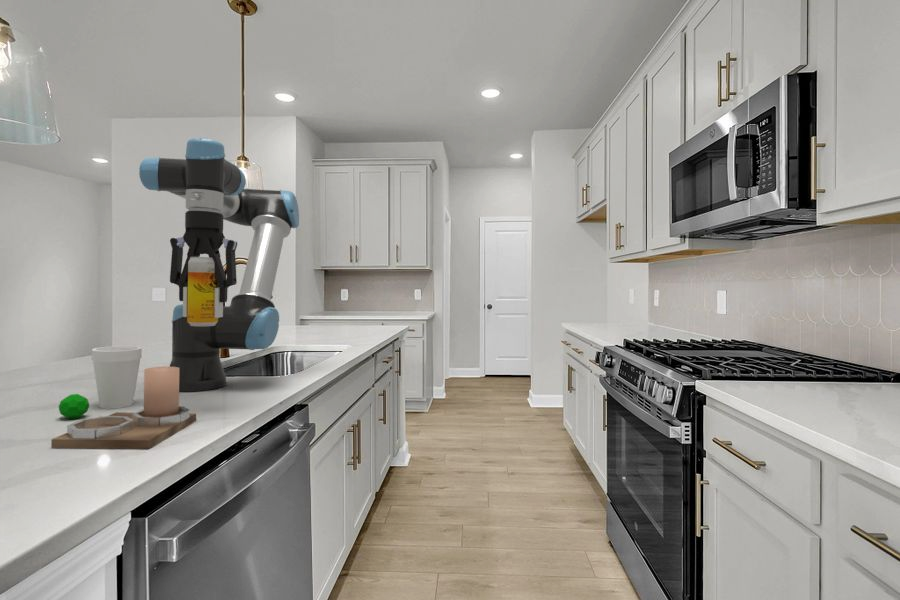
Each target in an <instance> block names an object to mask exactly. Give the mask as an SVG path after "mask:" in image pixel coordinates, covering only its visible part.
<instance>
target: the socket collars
mask: <svg viewBox="0 0 900 600" xmlns="http://www.w3.org/2000/svg"><path fill="white" fill-rule="evenodd" d="M132 413H133V414H132V419H131V418H129V417H128V416H127V417H126V416H109V415H106V416H105V415H104V416H103V415H102V416H97V417H92V418H91V417H90V418H84V419H80V420H78V421H74V422H72V423H70V424H68V425H66V433H67V434H68V435H69V436H70V437H71V438H73V439H98V438H104V437H110V436H116V435H120V434H123V433H125V432H127V431H129V430H131V429H133V423H135V424H136V425H139V426H162V425H168V424H174V423H180V422H182V421H184V420H186V419H187V418H189V417H190V413H191V410H190V409H189V408H188V407H185V406H181V405H179V414H175V415H169V416H163V417H144V408H142V409H140V410H137V411H135V412H132ZM102 425H118V426H112V427H106V428H99V429H84V428H90V427H96V426H102Z"/></svg>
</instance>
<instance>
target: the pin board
mask: <svg viewBox="0 0 900 600" xmlns="http://www.w3.org/2000/svg"><path fill="white" fill-rule="evenodd" d="M133 413H134V412H128V411H127V412H125V411H121V412H119V411H117V412H114V413H111V414H109V415H108V416H126V417H127V416H128V417H129V418H131V419H132V414H133ZM196 421H197V412H196V413H193V412H192V413H191V412H190V417H189V418H187V419H186V420H184V421H182V422H180V423H174V424H168V425H162V426H139V425H136V424H135V423H133V429H131V430H129V431H127V432H125V433H123V434H120V435H116V436H110V437H104V438H98V439H73V438H71V437H70V436H69V435H68V434H67V432H65V433H62V434H61V435H58V436H56V437H54V438H51V444H50V445H51V449H103V450H105V449H106V450H107V449H110V450H112V449H113V450H114V449H115V450H118V449H119V450H123V449H126V450H127V449H128V450H129V449H130V450H150V449H151V448H153V447H156V445H158V444H159V443H161V442H163V441H165V440H166V439H168V438H170V437H171V436H173V435H175V434H176V433H178V432H180V431H181V430H183V429H185V428H186V427H188V426H189V425H191V424H193V423H195V422H196ZM112 426H118V425H102V426H96V427H90V428H84V429H99V428H106V427H112Z"/></svg>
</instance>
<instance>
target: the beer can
mask: <svg viewBox="0 0 900 600" xmlns="http://www.w3.org/2000/svg"><path fill="white" fill-rule="evenodd" d="M215 288H219V287H218V282H217V279H216V276H215V263H214V261H213V258H211V257H209V256H208V257H207V256H200V257H190V260H189V261H188V308H187V322H188V323H189V324H190V326H215V324H216V323H217V322H218V318H214V313H215Z"/></svg>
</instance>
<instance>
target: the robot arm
mask: <svg viewBox="0 0 900 600" xmlns="http://www.w3.org/2000/svg"><path fill="white" fill-rule="evenodd" d="M184 156H185V159H183V158H165V157H164V158H163V157H150V158H149V157H147V158H144V159H143V160H142V161H141V162H140V165H139V169H138V170H139V173H138V175H139V179H140V182H141V184H142V186H143V187H144V188H145V189H147V190H149V191H157V192H169V193H171V194H174V195H175V196H178V197H180V198H183V199H185V209H187V210H186V212H184V213H185V214H184V219H185V221H184V227H185V232H184V234H183V236H180V237H177V238H174V237H171V238H170V239H169V242H170V244H171V258H170V259H171V260H170V271H169V273H170V274H169V282H170V283H171V284H174V285H176V286H178V300H179V302H182V304H177V305H175V307H174V308H173V311H172V318H171V319H172V320H171V324H172V328H171V330H172V334H171V335H172V336H171V340H172V341H171V347H172V348H171V351H172V352H171V353H172V354H171V361H170V363H169V366H168V367H179V392H202V391H209V390H215V389H219V388H223V387H224V386H226V385H227V376H226V372H225V370H224V367H223V362H222V361H221V358H220V357H221V356H220V353H221V352H220V351H221V349H222V350H223V349H226V350H249V351H255V350H265V349H268V348H270V346H272V344H273V343H274V341H276V338H277V335H278V333H279V327H280V313H279V311H278V309H277V308H276V307H275V304H274V302H273V301H272V295H273V291H274V287H275V281H276V276H277V273H278V267H279V263H280V258H281V252H282V248H283V242H284V240H285V238H287V237H289V236H290V233H291V230H292V229H298V227H299V225H300V212H299V204H298V201H297V197H296V195H295V193H293V191H289V190H282V189H279V190H276V189H275V190H272V189H254V188H253V189H251V188H245V187H246V184H247V179H246V176H245V173H244V172H243V171H242V169H241V168H239V167H238V166H237V165H235V164H234V163H232V162H230V161H228V160H226V159H225V157H226V154H225V145H223V143H222V142H220V141H218V140H214V139H212V138H211V139H209V138H203V137H194V138H193V137H192V138H191V139H189V140H187V141H186V150H185V155H184ZM224 221H227V222H229V223H233V224H236V225H240V226H244V227H245V226H246V227H251V228H252V230H253V231H254V233H253V237H252V241H251V245H250V250H249V254H248V258H247V261H246V265H245V269H244V273H243V277H242V281H241V285H240V290H239V293H238V294H236V295H233V297H232V298H231V301H230V304H229V306H227V305H226V306H224V303H227V302H228V288H229V287H232V286H235V285H237V283H238V282H237V265H236V264H237V262H236V261H237V258H236V250H237V247H238V241H235V240H233V239H228V238H226V237H225V235H224ZM185 244H186V246H187V247H188V250H187V253H186V259H185V263H184V265H183V257H184V247H185ZM222 246H223V247H224V249H225V267H226V268H224V265H223V262H222V260H221V259H222V258H221V253H220V248H221V247H222ZM201 255H208V257H211V258H213V261H214V263H215V276H216V279H217V282H218V287H219V288H215V313H214V318H218V322H217V323H216V324H215V326H190V324H189V323H188V322H187V308H188V261H189V260H190V257H201ZM225 269H226V273H225Z"/></svg>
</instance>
